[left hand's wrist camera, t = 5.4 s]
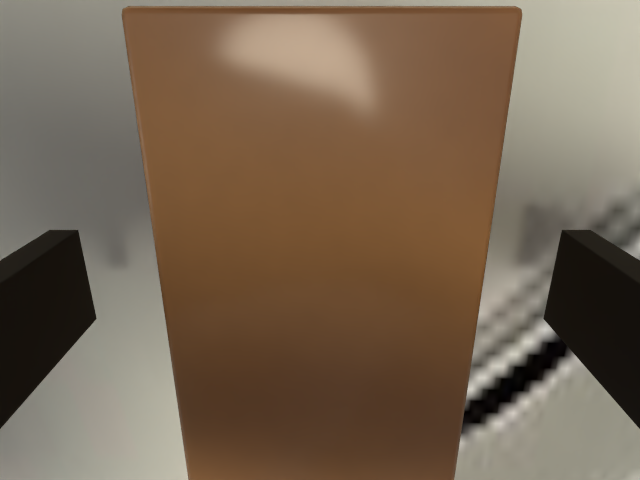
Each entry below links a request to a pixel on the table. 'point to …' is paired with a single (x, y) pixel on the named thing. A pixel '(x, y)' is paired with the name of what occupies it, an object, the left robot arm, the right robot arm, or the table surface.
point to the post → (321, 226)
